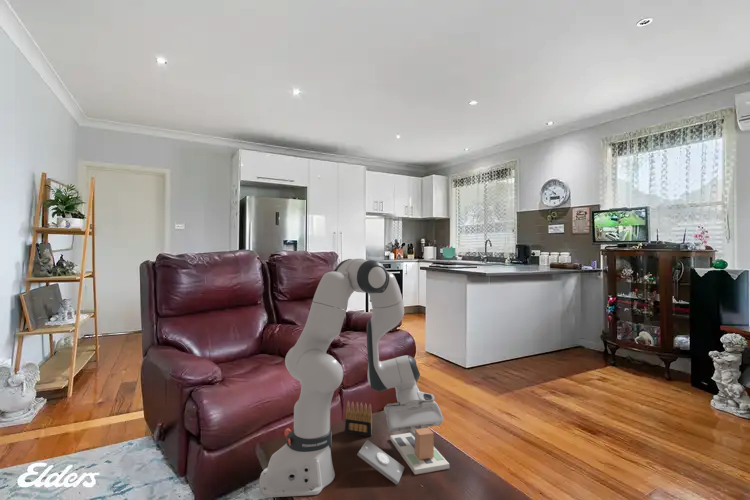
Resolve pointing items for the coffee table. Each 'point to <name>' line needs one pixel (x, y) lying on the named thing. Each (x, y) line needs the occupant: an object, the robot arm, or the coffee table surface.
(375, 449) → the light switch
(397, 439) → the switch board
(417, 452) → the tan rectangular block
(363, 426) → the ammunition clip
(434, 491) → the coffee table surface
